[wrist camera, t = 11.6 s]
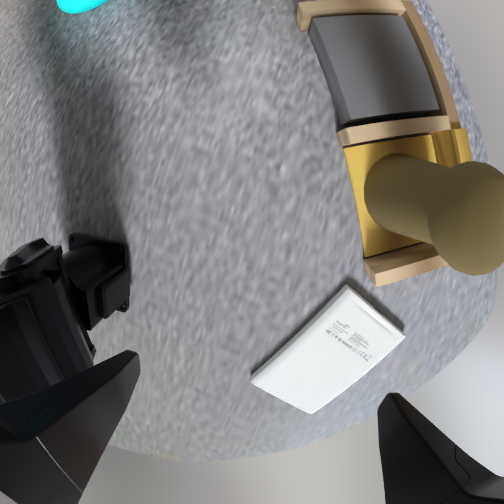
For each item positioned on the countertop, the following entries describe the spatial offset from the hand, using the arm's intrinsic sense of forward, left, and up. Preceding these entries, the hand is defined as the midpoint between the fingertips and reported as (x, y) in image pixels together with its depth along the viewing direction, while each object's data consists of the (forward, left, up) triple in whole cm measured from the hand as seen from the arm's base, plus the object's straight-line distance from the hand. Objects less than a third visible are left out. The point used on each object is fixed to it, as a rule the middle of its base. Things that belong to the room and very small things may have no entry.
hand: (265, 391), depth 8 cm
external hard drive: (+7, -8, -14) cm, 17 cm away
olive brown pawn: (+8, +7, -13) cm, 17 cm away
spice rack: (+7, +11, -13) cm, 18 cm away
